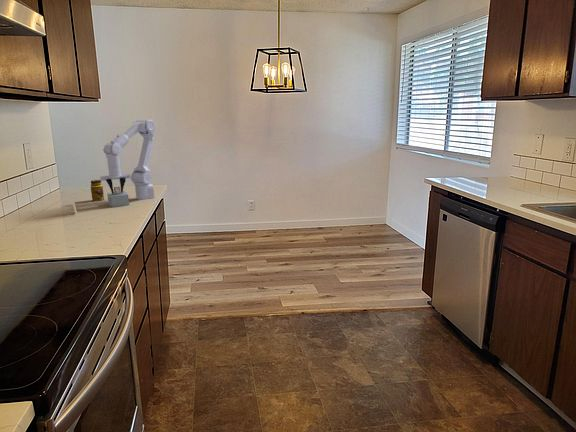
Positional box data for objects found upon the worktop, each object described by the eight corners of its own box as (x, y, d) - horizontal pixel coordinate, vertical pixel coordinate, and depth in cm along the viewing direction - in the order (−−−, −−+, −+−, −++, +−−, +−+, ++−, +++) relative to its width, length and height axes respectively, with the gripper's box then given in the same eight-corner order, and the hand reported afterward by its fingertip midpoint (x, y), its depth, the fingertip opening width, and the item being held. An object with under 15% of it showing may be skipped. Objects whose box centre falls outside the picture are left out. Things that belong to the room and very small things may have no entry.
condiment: (103, 203, 237) (100, 181, 234) (87, 203, 236) (83, 182, 233) (106, 200, 244) (104, 179, 241) (91, 201, 243) (88, 179, 240)
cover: (126, 201, 234) (124, 184, 232) (129, 205, 226) (127, 187, 223) (108, 203, 230) (106, 186, 228) (110, 207, 222) (108, 189, 219)
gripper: (99, 169, 216) (103, 196, 220) (130, 166, 223) (133, 192, 226) (98, 167, 222) (101, 193, 226) (128, 165, 229) (131, 190, 232)
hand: (117, 193), depth 226 cm, fingers open, 4 cm apart
